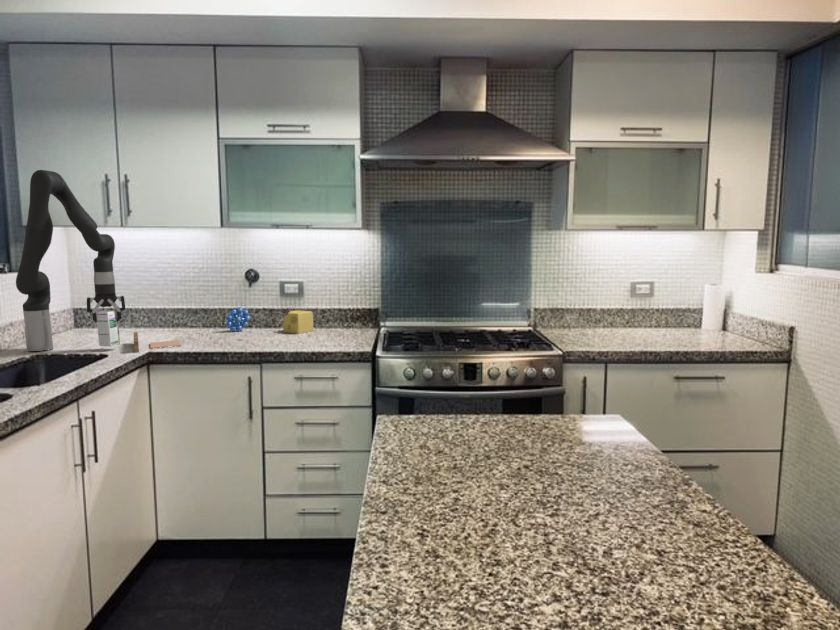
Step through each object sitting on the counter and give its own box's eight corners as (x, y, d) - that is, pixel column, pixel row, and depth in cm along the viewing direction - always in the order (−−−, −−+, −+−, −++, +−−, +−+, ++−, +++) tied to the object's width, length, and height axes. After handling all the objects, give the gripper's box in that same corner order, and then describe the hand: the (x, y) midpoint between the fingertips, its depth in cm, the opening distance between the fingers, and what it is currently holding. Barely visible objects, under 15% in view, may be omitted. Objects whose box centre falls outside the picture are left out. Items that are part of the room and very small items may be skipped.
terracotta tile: (150, 349, 248) (150, 347, 248) (150, 344, 259) (149, 342, 259) (181, 346, 254) (181, 345, 254) (179, 341, 264) (179, 340, 264)
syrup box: (110, 346, 244) (108, 312, 241) (98, 346, 245) (95, 311, 243) (120, 343, 249) (117, 310, 247) (108, 343, 250) (105, 309, 248)
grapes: (249, 329, 295) (248, 305, 293) (251, 331, 289) (250, 307, 287) (225, 331, 291) (224, 307, 289) (227, 333, 284) (225, 308, 283)
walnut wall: (139, 352, 242) (138, 340, 241) (134, 352, 241) (133, 340, 241) (138, 343, 262) (137, 332, 261) (134, 343, 261) (133, 332, 260)
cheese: (283, 332, 286) (282, 312, 285) (299, 329, 295) (299, 309, 294) (298, 334, 281) (297, 313, 279) (314, 331, 289) (313, 311, 288)
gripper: (123, 281, 249) (126, 318, 252) (85, 282, 243) (88, 321, 246) (123, 282, 243) (126, 321, 245) (84, 284, 237) (87, 323, 239)
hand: (107, 321), depth 245 cm, fingers closed on syrup box, 8 cm apart
